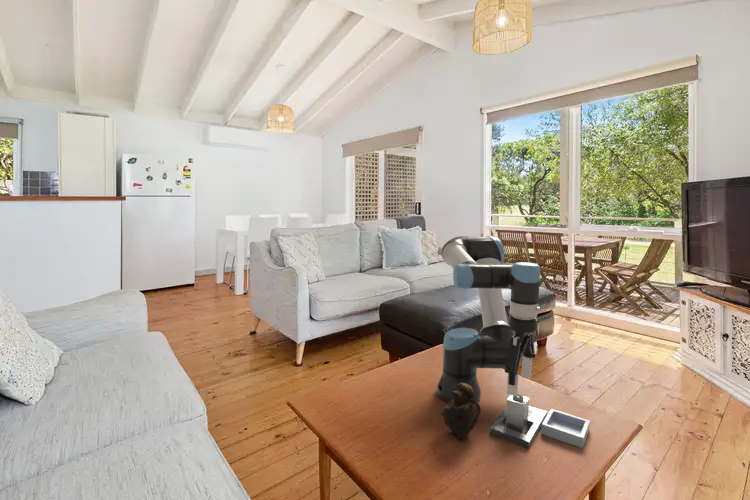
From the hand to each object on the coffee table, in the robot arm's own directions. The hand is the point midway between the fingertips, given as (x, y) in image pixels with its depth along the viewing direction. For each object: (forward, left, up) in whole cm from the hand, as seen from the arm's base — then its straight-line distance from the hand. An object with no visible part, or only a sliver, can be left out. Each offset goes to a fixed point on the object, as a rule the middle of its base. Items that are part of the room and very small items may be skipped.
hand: (519, 386), depth 114 cm
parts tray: (+12, +8, -14) cm, 20 cm away
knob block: (0, 0, -14) cm, 14 cm away
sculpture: (-12, -13, -14) cm, 23 cm away
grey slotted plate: (0, +3, -14) cm, 15 cm away
